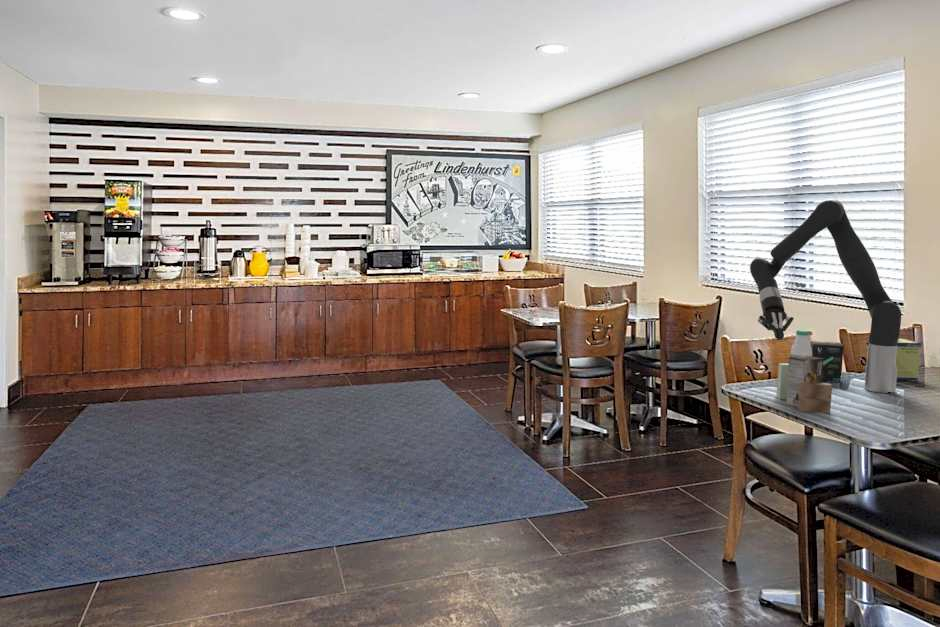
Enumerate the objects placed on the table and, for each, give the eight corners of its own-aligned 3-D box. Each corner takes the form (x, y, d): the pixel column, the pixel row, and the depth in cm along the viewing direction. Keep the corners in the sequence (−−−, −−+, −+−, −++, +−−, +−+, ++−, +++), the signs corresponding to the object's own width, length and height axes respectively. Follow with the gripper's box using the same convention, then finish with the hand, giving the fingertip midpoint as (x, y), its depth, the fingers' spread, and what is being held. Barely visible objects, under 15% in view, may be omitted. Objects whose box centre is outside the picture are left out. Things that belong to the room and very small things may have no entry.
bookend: (799, 397, 252) (802, 363, 250) (803, 399, 249) (805, 365, 247) (776, 396, 252) (778, 363, 251) (779, 398, 249) (782, 364, 248)
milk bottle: (805, 380, 283) (809, 329, 280) (813, 384, 275) (817, 332, 273) (785, 379, 284) (789, 328, 281) (792, 383, 276) (796, 331, 274)
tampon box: (837, 378, 287) (840, 342, 286) (841, 383, 279) (844, 345, 277) (807, 376, 291) (810, 340, 289) (810, 380, 282) (813, 343, 280)
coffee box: (804, 401, 246) (807, 355, 244) (820, 405, 241) (824, 358, 239) (785, 403, 242) (789, 356, 240) (802, 408, 236) (805, 360, 235)
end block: (825, 410, 234) (828, 383, 233) (830, 412, 231) (832, 385, 230) (797, 409, 235) (799, 382, 234) (801, 411, 232) (803, 384, 231)
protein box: (918, 381, 285) (922, 342, 283) (878, 380, 285) (882, 341, 283) (902, 376, 295) (906, 338, 293) (864, 375, 295) (867, 337, 293)
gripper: (756, 294, 270) (764, 331, 260) (792, 296, 270) (802, 333, 259) (750, 307, 276) (758, 343, 266) (785, 308, 276) (795, 345, 265)
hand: (780, 338), depth 262 cm, fingers closed
